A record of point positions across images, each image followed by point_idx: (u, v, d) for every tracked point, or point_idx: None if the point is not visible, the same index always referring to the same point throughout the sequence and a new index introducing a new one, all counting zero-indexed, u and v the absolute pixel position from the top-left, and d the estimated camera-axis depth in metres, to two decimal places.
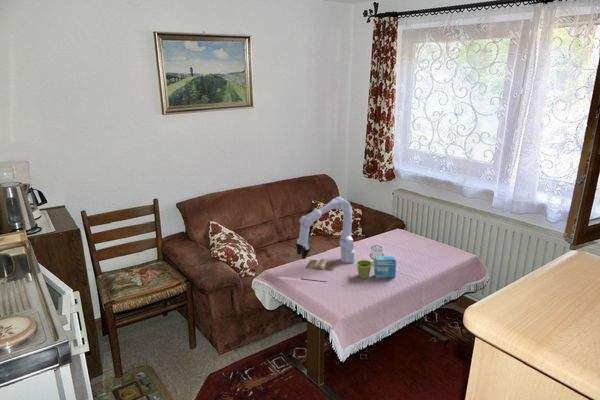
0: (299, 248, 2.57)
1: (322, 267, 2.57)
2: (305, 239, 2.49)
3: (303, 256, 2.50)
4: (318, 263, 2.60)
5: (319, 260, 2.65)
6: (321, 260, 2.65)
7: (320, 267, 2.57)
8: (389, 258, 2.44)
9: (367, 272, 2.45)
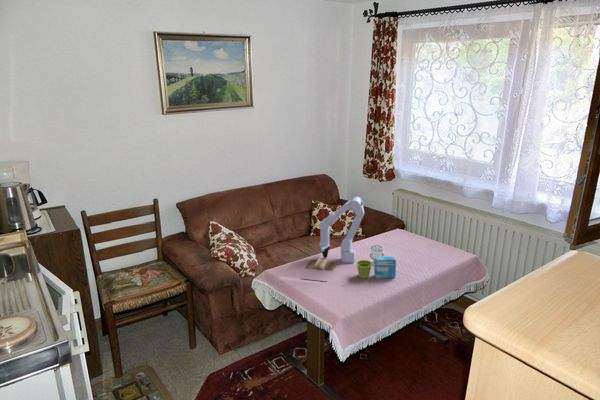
0: None
1: (322, 267, 2.57)
2: (323, 242, 2.66)
3: (324, 255, 2.71)
4: (318, 263, 2.60)
5: (319, 260, 2.65)
6: (321, 260, 2.65)
7: (320, 267, 2.57)
8: (389, 258, 2.44)
9: (367, 272, 2.45)
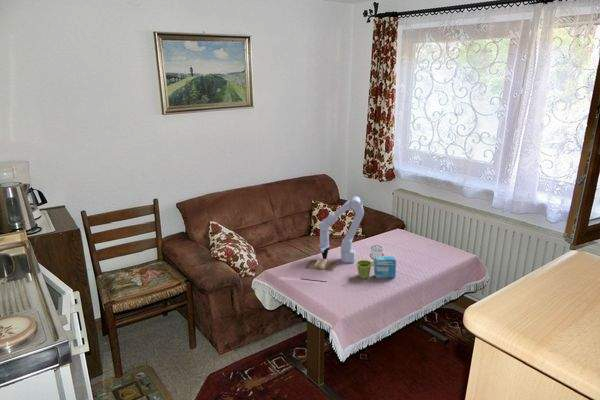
0: None
1: (322, 267, 2.57)
2: (323, 242, 2.65)
3: (323, 256, 2.70)
4: (318, 263, 2.60)
5: (319, 260, 2.65)
6: (321, 260, 2.65)
7: (320, 267, 2.57)
8: (389, 258, 2.44)
9: (367, 272, 2.45)
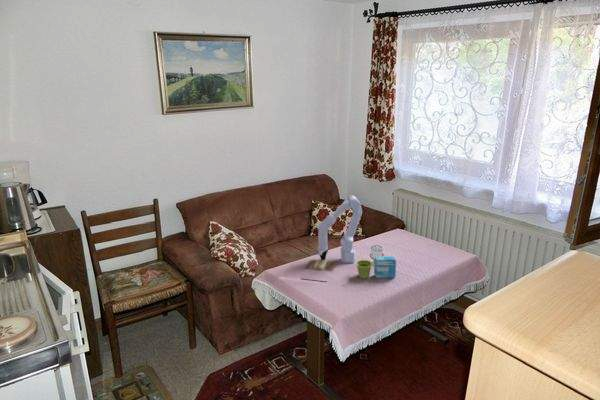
0: None
1: (322, 268, 2.56)
2: (321, 245, 2.61)
3: (321, 258, 2.66)
4: (318, 264, 2.59)
5: (319, 261, 2.64)
6: (321, 260, 2.64)
7: (320, 268, 2.56)
8: (389, 258, 2.44)
9: (367, 272, 2.45)
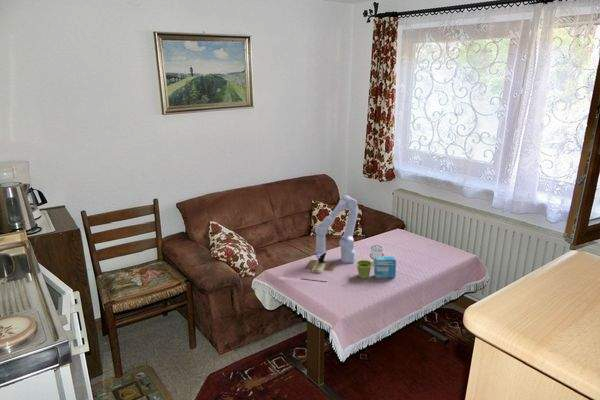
0: None
1: (320, 271, 2.52)
2: (319, 248, 2.56)
3: (320, 262, 2.61)
4: (316, 268, 2.54)
5: (317, 264, 2.59)
6: (319, 264, 2.59)
7: (318, 271, 2.52)
8: (389, 258, 2.44)
9: (367, 272, 2.45)
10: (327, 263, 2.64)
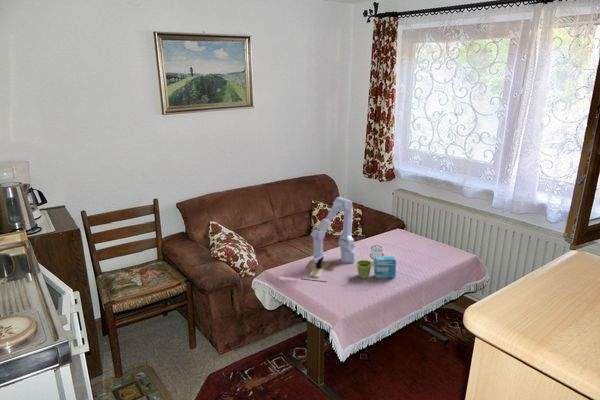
0: None
1: (317, 277, 2.46)
2: (317, 252, 2.51)
3: (317, 266, 2.56)
4: (313, 273, 2.49)
5: (314, 269, 2.54)
6: (316, 269, 2.54)
7: (315, 277, 2.47)
8: (389, 258, 2.44)
9: (367, 272, 2.45)
10: (327, 263, 2.64)
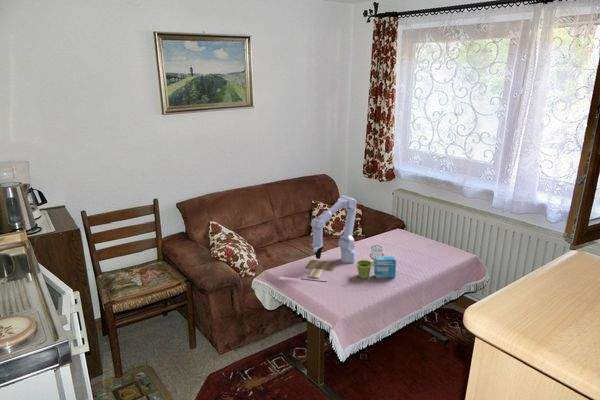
0: None
1: (317, 278, 2.45)
2: (316, 241, 2.48)
3: (316, 256, 2.53)
4: (313, 274, 2.48)
5: (314, 270, 2.53)
6: (316, 270, 2.53)
7: None
8: (389, 258, 2.44)
9: (367, 272, 2.45)
10: (327, 263, 2.64)
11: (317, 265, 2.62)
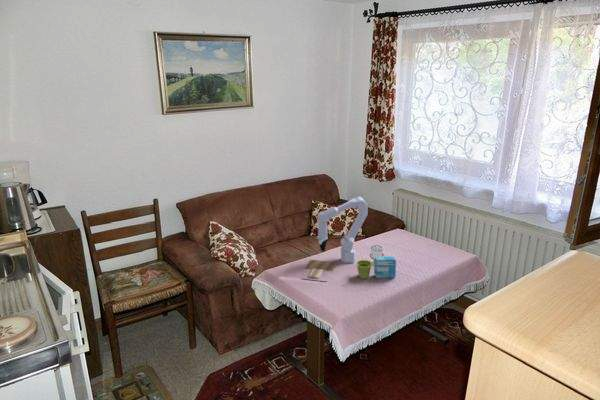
0: None
1: (317, 278, 2.45)
2: (321, 234, 2.59)
3: (321, 248, 2.64)
4: (313, 274, 2.48)
5: (314, 270, 2.53)
6: (316, 270, 2.53)
7: None
8: (389, 258, 2.44)
9: (367, 272, 2.45)
10: (327, 263, 2.64)
11: (317, 265, 2.62)
